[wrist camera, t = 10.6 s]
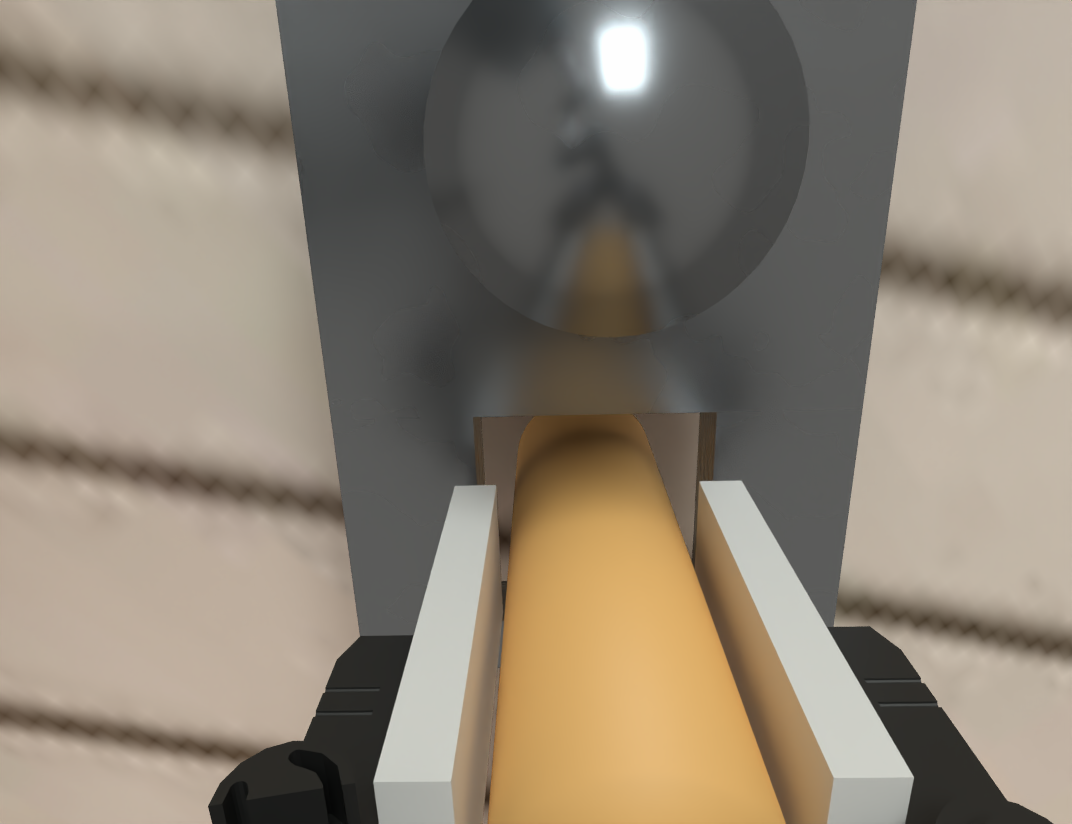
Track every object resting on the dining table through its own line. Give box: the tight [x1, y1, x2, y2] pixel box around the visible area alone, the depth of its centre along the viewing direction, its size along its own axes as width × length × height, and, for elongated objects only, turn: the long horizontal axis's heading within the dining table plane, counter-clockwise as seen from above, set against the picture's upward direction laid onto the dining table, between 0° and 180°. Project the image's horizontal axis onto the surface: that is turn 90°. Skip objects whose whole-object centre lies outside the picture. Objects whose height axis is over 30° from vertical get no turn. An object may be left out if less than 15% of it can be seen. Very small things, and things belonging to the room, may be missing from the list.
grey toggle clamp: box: [275, 0, 917, 668], centre depth 13 cm, size 10×23×10 cm, turn 2°
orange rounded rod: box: [488, 414, 786, 824], centre depth 12 cm, size 3×3×11 cm
